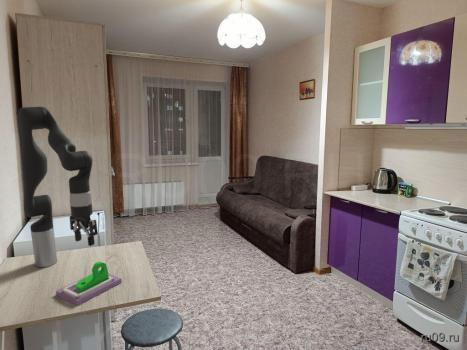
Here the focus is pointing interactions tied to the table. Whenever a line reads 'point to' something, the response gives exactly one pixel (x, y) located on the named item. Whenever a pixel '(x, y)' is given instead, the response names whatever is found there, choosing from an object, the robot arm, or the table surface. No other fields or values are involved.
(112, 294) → the table surface
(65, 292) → the door panel
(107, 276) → the mechanical part
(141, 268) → the table surface
